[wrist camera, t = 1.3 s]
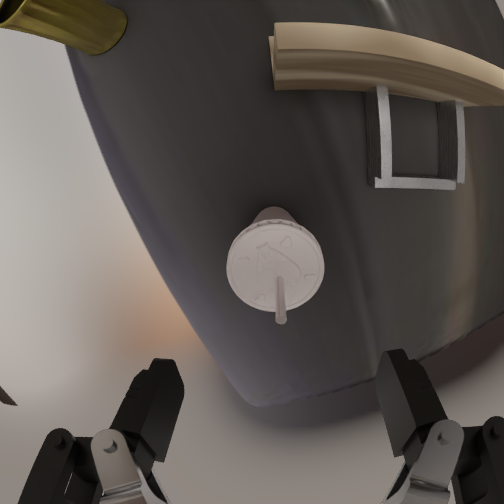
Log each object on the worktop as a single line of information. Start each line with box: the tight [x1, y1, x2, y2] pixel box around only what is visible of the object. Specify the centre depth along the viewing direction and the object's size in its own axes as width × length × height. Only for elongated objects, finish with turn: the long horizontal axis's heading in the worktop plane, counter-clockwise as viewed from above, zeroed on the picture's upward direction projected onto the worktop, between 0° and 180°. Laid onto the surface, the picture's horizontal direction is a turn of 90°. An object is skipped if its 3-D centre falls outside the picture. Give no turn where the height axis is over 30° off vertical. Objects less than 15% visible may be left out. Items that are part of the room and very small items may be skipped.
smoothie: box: [227, 207, 324, 324], centre depth 20 cm, size 6×6×14 cm
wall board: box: [269, 22, 504, 107], centre depth 14 cm, size 5×20×12 cm, turn 95°
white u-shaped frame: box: [363, 85, 465, 190], centre depth 20 cm, size 9×10×4 cm
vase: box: [0, 0, 127, 55], centre depth 12 cm, size 6×6×14 cm
